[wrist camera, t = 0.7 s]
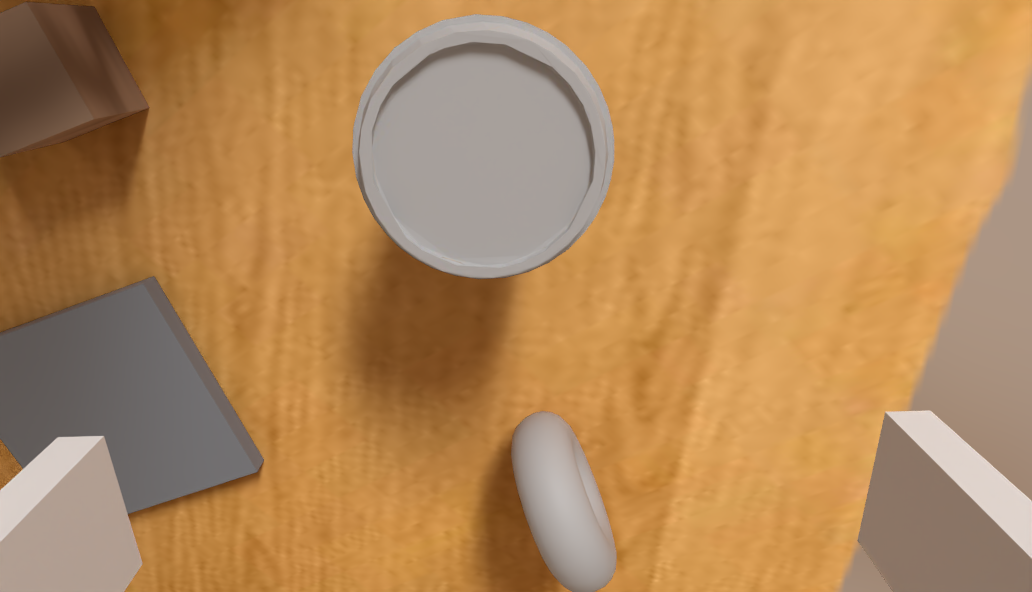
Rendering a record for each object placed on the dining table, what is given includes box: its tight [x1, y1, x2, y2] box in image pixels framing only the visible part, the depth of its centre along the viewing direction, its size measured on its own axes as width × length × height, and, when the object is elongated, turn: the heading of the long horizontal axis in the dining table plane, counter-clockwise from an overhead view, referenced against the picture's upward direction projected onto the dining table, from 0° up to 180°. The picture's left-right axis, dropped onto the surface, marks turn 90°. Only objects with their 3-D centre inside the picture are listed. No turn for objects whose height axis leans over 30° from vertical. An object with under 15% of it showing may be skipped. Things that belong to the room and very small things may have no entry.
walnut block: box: [0, 2, 149, 157], centre depth 31 cm, size 5×5×5 cm
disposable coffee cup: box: [353, 14, 614, 279], centre depth 29 cm, size 10×10×12 cm
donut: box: [511, 411, 616, 592], centre depth 37 cm, size 10×4×10 cm, turn 23°
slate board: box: [0, 276, 264, 514], centre depth 39 cm, size 13×13×1 cm
